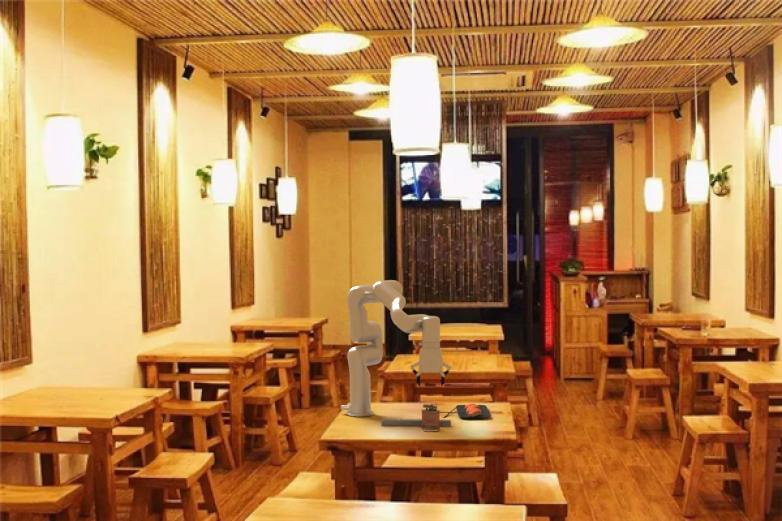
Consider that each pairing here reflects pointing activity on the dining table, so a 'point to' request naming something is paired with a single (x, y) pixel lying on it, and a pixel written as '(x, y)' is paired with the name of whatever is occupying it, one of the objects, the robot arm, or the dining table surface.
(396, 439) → the dining table surface
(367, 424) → the dining table surface
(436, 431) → the marked pad
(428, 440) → the dining table surface
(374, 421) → the dining table surface
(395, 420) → the rail
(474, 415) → the sushi plate
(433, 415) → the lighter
